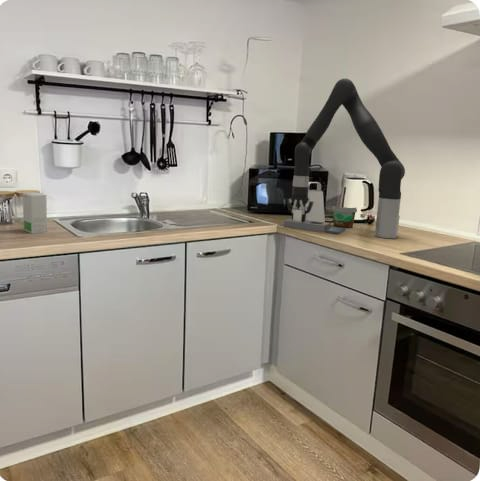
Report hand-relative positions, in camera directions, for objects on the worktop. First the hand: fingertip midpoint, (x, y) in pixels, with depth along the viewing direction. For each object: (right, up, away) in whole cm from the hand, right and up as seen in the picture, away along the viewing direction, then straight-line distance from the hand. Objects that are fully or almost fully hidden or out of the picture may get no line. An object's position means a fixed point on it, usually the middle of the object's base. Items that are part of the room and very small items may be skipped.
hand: (298, 221), depth 217 cm
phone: (+16, -5, -8) cm, 19 cm away
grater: (+9, +1, +21) cm, 23 cm away
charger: (0, -1, 0) cm, 2 cm away
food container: (+22, -3, +5) cm, 23 cm away
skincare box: (-112, -6, -32) cm, 116 cm away
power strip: (+4, -3, -1) cm, 5 cm away
